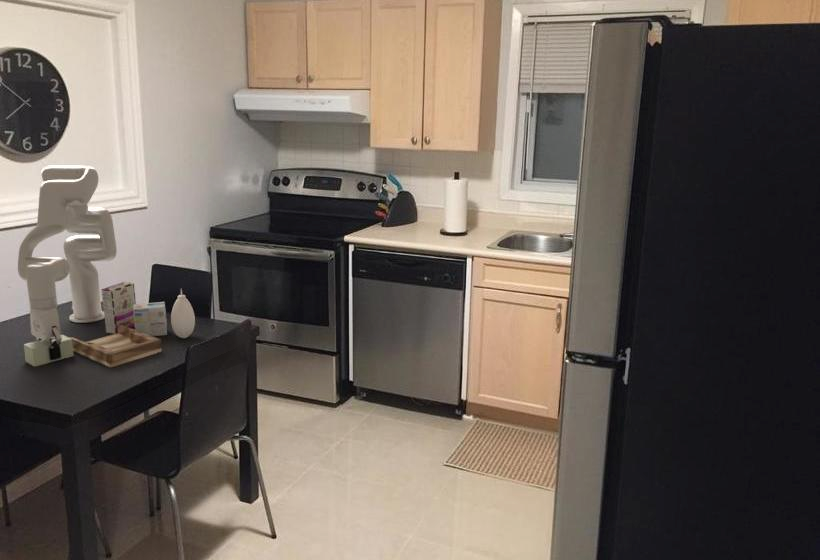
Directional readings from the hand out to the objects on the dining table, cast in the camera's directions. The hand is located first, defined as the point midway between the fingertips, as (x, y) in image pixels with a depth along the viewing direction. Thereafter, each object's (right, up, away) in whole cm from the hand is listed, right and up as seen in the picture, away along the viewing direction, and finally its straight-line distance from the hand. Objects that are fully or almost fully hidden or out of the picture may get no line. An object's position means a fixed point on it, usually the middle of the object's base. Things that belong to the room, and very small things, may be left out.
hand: (49, 355), depth 208 cm
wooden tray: (+17, +1, +9) cm, 19 cm away
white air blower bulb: (+35, +4, +23) cm, 42 cm away
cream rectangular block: (0, -1, 0) cm, 1 cm away
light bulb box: (+22, +5, +26) cm, 34 cm away
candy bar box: (+10, +6, +29) cm, 31 cm away
